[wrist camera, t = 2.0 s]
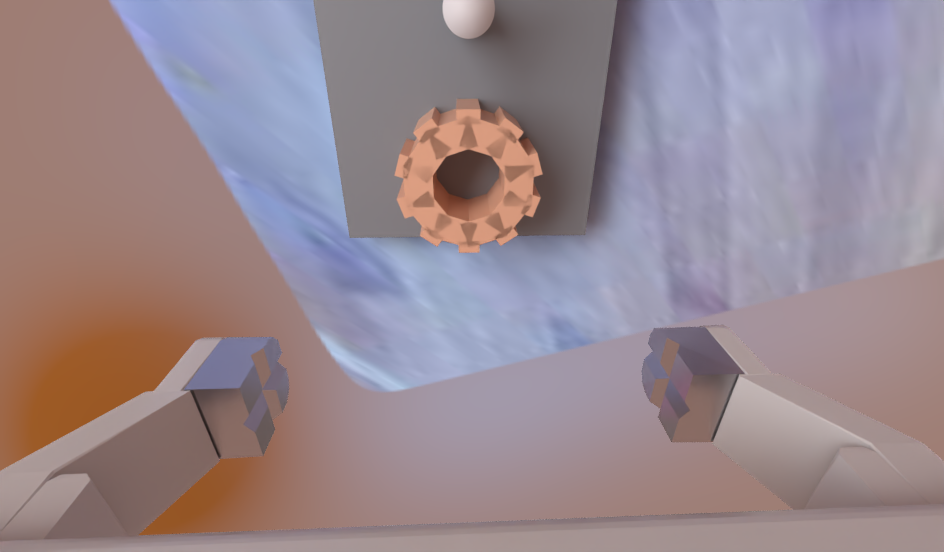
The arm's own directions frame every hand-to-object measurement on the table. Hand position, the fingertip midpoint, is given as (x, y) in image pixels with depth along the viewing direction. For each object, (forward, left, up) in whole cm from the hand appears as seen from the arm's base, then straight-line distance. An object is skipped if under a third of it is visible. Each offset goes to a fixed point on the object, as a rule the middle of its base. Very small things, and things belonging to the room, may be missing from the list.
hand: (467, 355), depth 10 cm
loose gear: (0, 0, -15) cm, 15 cm away
